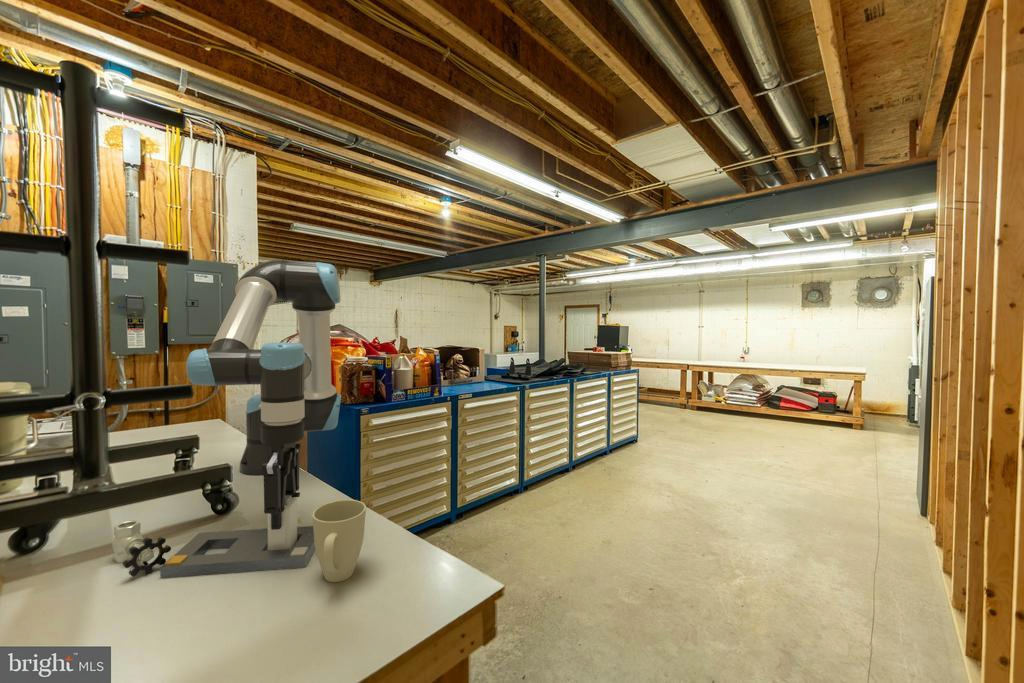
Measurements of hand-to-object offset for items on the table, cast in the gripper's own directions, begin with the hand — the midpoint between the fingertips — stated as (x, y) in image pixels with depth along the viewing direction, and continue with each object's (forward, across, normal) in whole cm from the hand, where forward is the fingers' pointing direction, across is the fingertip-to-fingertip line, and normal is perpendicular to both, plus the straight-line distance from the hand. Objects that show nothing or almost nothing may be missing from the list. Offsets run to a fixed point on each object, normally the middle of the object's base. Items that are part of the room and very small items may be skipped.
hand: (282, 536), depth 81 cm
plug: (+3, 0, 0) cm, 3 cm away
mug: (+3, +10, +13) cm, 17 cm away
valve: (+4, 0, -25) cm, 26 cm away
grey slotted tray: (+3, 0, -6) cm, 7 cm away
